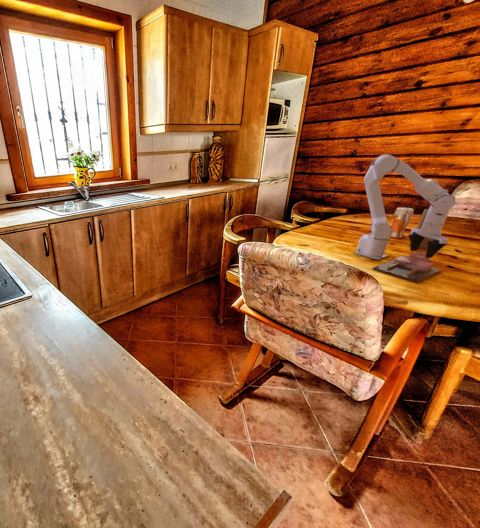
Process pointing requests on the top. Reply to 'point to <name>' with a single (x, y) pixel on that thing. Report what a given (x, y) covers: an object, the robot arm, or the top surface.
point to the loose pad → (419, 256)
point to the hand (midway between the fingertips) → (420, 253)
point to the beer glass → (401, 221)
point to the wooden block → (424, 243)
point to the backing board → (408, 268)
